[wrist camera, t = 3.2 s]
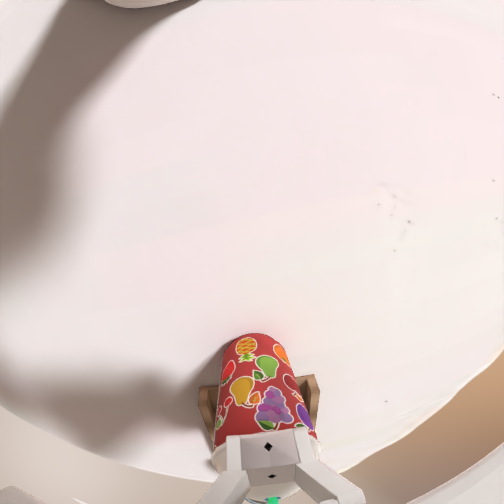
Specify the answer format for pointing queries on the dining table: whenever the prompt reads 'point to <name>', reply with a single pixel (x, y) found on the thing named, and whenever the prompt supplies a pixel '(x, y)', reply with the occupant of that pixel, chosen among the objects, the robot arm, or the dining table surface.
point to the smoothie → (259, 403)
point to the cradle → (210, 394)
